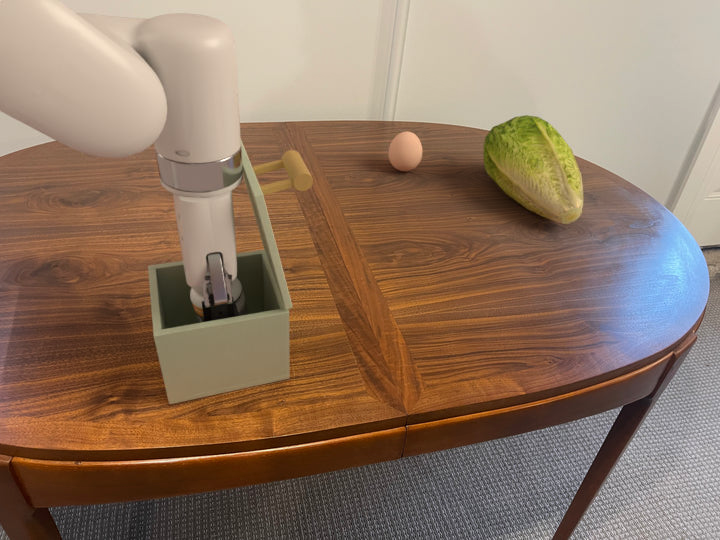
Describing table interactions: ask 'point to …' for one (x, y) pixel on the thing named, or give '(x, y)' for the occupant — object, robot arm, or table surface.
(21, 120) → the robot arm
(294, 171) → the lid
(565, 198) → the lettuce
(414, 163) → the egg
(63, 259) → the table surface
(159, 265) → the chest
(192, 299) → the pill bottle
